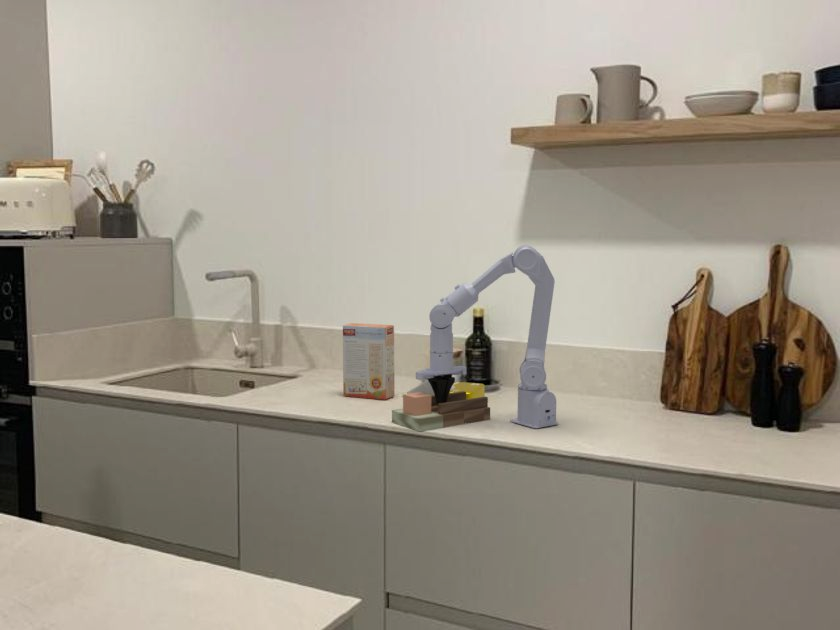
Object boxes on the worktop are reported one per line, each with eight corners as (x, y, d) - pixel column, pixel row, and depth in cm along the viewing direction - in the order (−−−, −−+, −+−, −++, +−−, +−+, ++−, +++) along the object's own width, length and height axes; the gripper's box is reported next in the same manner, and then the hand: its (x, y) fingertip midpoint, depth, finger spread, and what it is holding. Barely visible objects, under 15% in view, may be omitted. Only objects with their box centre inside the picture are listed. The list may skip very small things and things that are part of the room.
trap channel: (490, 419, 212) (490, 397, 212) (419, 431, 200) (419, 408, 199) (460, 410, 222) (461, 390, 221) (391, 421, 209) (391, 400, 209)
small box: (416, 411, 219) (450, 391, 217) (405, 392, 220) (439, 373, 217) (423, 407, 227) (456, 388, 225) (413, 389, 227) (446, 370, 225)
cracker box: (395, 396, 240) (395, 324, 238) (385, 400, 235) (385, 327, 233) (353, 392, 246) (352, 322, 244) (342, 396, 241) (342, 324, 239)
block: (431, 413, 205) (431, 395, 205) (414, 416, 202) (414, 397, 202) (419, 409, 209) (419, 392, 209) (403, 412, 207) (403, 394, 206)
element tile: (419, 405, 231) (419, 387, 231) (437, 394, 245) (437, 378, 245) (471, 409, 226) (471, 391, 226) (486, 398, 240) (486, 382, 240)
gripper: (454, 347, 216) (454, 399, 218) (408, 352, 208) (408, 405, 209) (471, 350, 211) (471, 403, 212) (425, 355, 202) (425, 410, 204)
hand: (441, 405), depth 210 cm, fingers closed
